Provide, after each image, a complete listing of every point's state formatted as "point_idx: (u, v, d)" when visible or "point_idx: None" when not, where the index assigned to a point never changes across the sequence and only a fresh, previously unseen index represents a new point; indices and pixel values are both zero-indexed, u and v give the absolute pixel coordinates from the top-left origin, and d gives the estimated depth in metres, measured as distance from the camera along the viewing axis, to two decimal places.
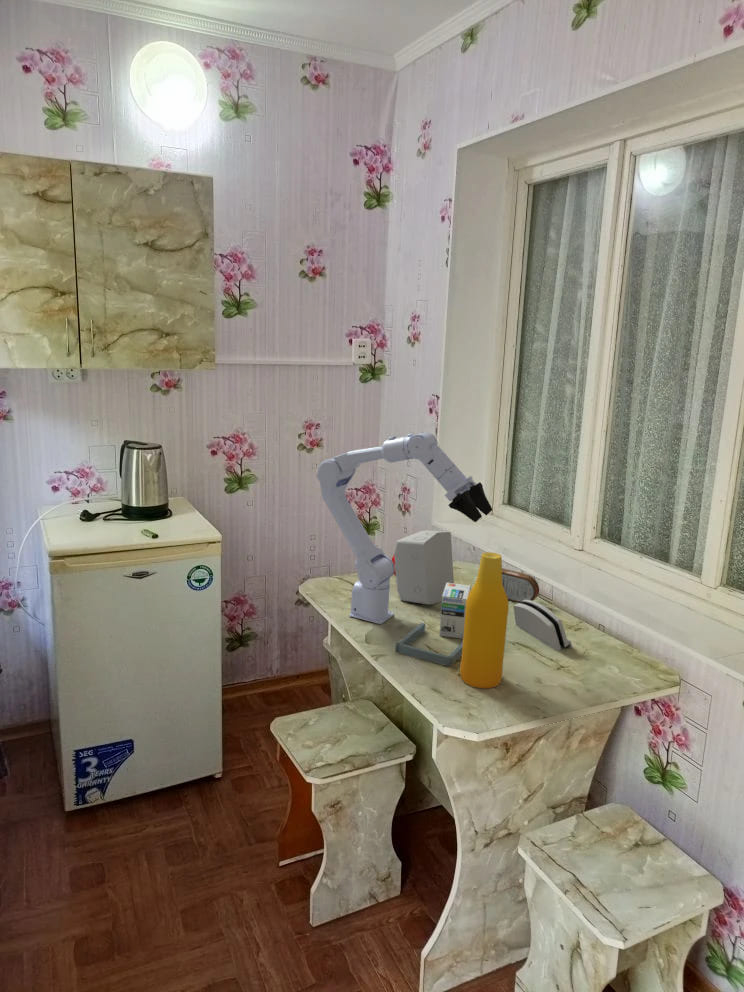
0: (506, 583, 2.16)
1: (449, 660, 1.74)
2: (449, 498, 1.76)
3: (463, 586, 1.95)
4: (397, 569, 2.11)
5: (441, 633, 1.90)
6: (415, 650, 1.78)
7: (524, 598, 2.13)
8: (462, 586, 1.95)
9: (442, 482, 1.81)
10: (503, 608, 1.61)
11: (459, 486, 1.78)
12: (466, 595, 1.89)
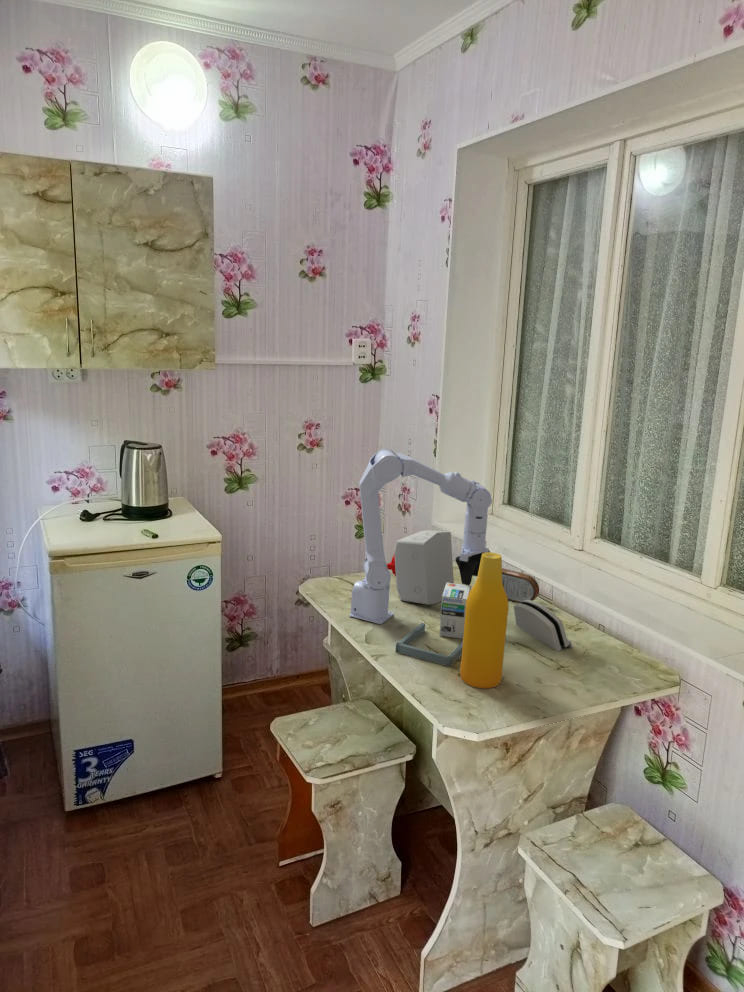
0: (506, 583, 2.16)
1: (449, 660, 1.74)
2: (461, 558, 1.93)
3: (463, 586, 1.95)
4: (397, 569, 2.11)
5: (441, 633, 1.90)
6: (415, 650, 1.78)
7: (524, 598, 2.13)
8: (462, 586, 1.95)
9: (466, 536, 1.96)
10: (503, 608, 1.61)
11: (475, 553, 1.94)
12: (466, 595, 1.89)
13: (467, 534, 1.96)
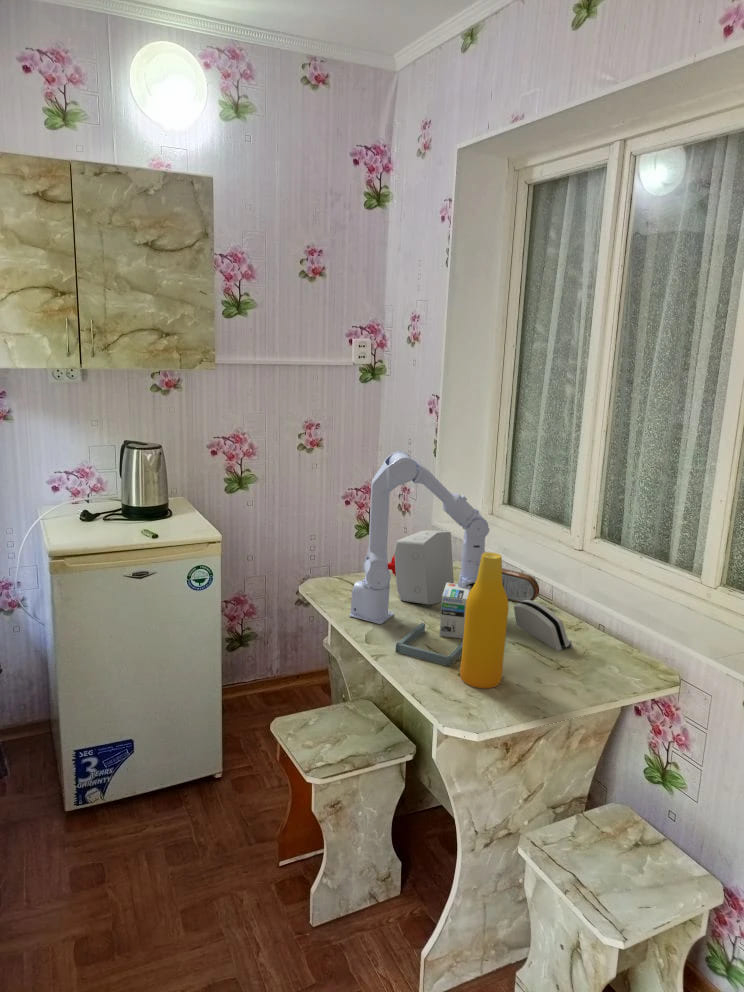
0: (506, 583, 2.16)
1: (449, 660, 1.74)
2: None
3: None
4: (397, 569, 2.11)
5: (441, 633, 1.90)
6: (415, 650, 1.78)
7: (524, 598, 2.13)
8: None
9: (464, 564, 1.98)
10: (503, 608, 1.61)
11: (472, 581, 1.96)
12: (466, 595, 1.89)
13: (465, 562, 1.98)
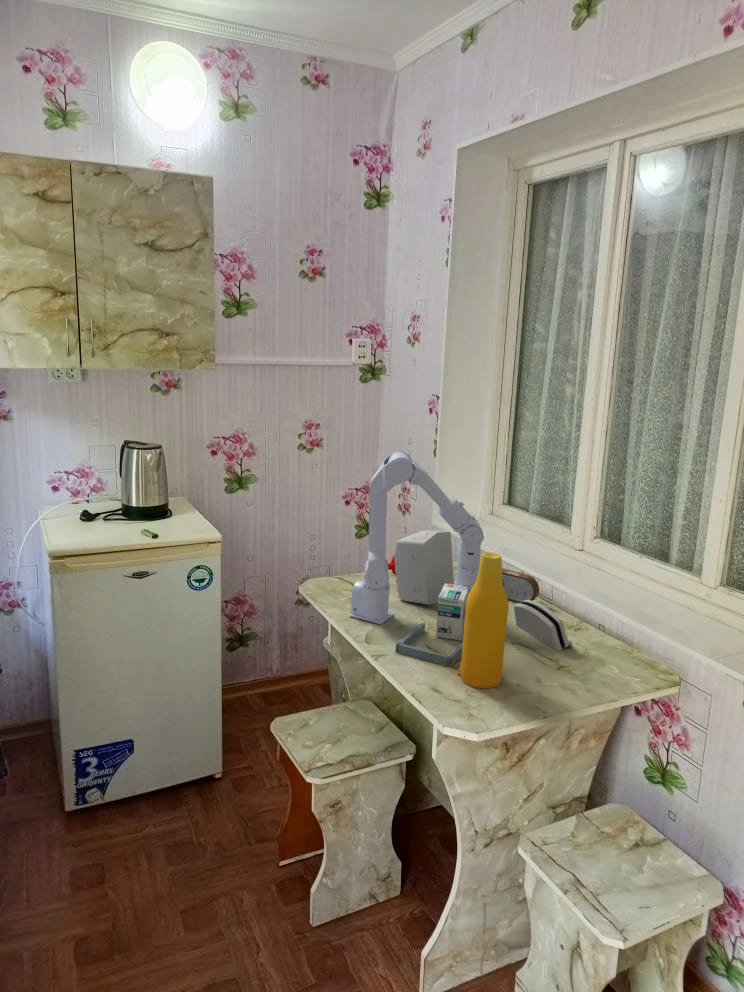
0: (506, 583, 2.16)
1: (449, 660, 1.74)
2: None
3: None
4: (397, 569, 2.11)
5: (437, 634, 1.89)
6: (415, 650, 1.78)
7: (524, 598, 2.13)
8: None
9: (459, 572, 1.95)
10: (503, 608, 1.61)
11: None
12: (463, 596, 1.88)
13: (460, 570, 1.95)
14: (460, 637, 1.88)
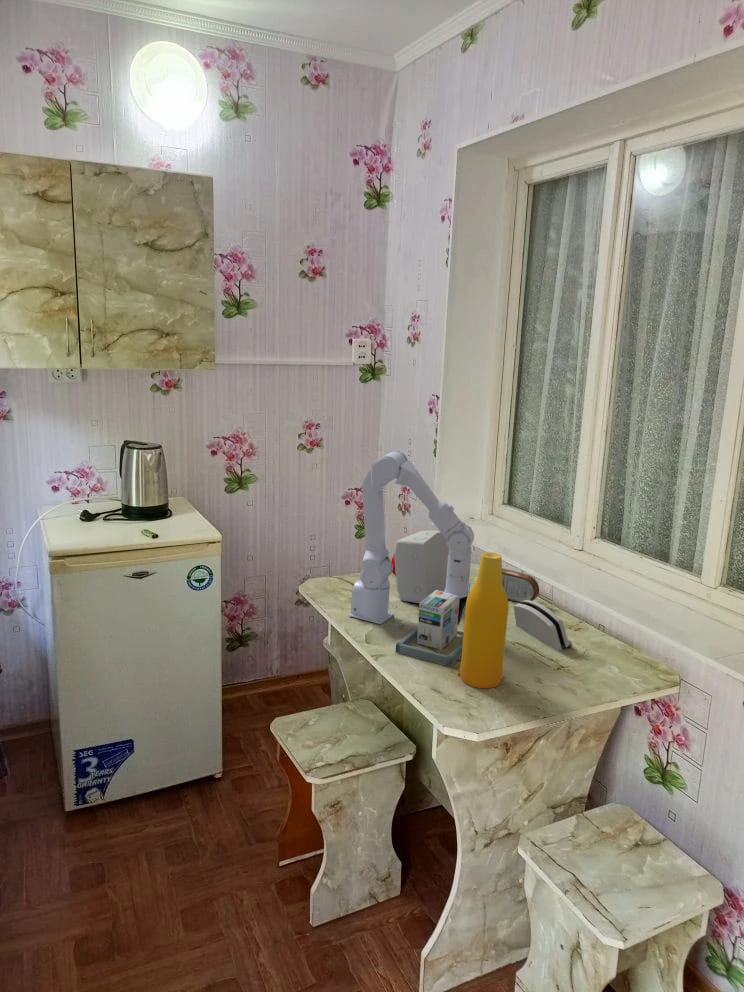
0: (506, 583, 2.15)
1: (449, 660, 1.74)
2: None
3: None
4: (397, 569, 2.11)
5: (418, 641, 1.85)
6: (415, 650, 1.78)
7: (524, 598, 2.13)
8: (449, 595, 1.88)
9: (449, 580, 1.89)
10: (503, 608, 1.61)
11: (458, 598, 1.88)
12: (445, 604, 1.82)
13: (450, 578, 1.89)
14: (440, 646, 1.82)
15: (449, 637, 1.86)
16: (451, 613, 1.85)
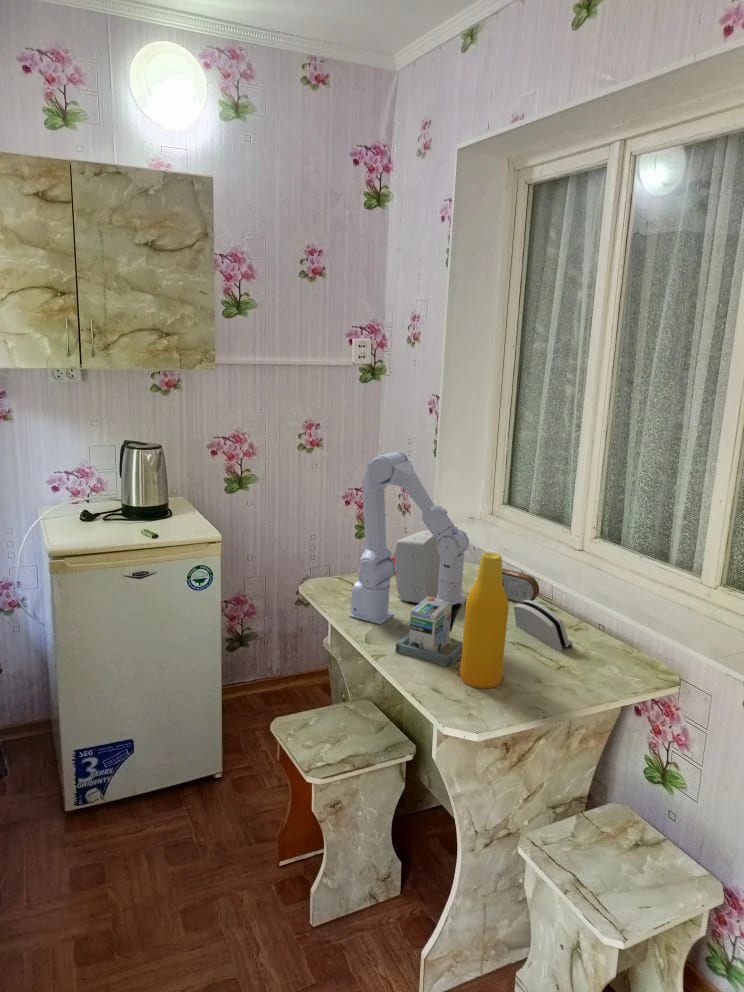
0: (506, 583, 2.16)
1: (449, 660, 1.74)
2: None
3: None
4: (397, 569, 2.11)
5: None
6: (415, 650, 1.78)
7: (524, 598, 2.13)
8: None
9: (441, 586, 1.85)
10: (503, 608, 1.61)
11: (450, 604, 1.83)
12: (437, 611, 1.78)
13: (442, 584, 1.84)
14: None
15: (441, 645, 1.81)
16: (443, 620, 1.80)
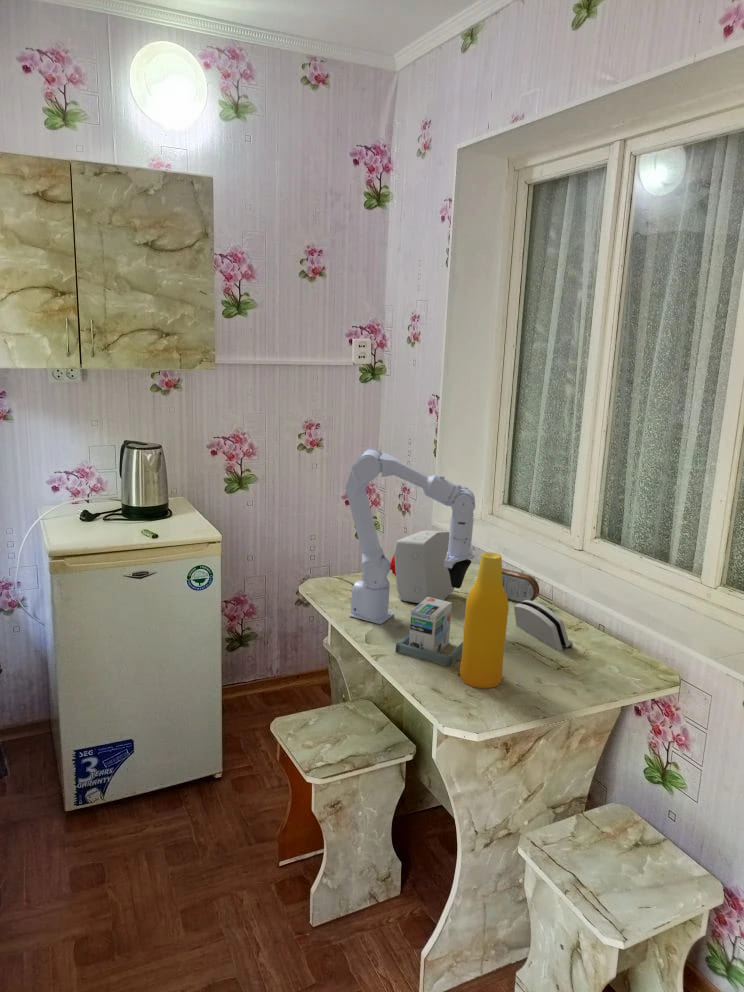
0: (506, 583, 2.16)
1: (449, 660, 1.74)
2: (445, 565, 1.87)
3: (442, 602, 1.84)
4: (397, 569, 2.11)
5: None
6: (415, 650, 1.78)
7: (524, 598, 2.13)
8: (441, 602, 1.84)
9: (451, 542, 1.91)
10: (503, 608, 1.61)
11: (460, 560, 1.89)
12: (437, 612, 1.78)
13: (452, 540, 1.90)
14: None
15: (441, 645, 1.81)
16: (443, 621, 1.80)
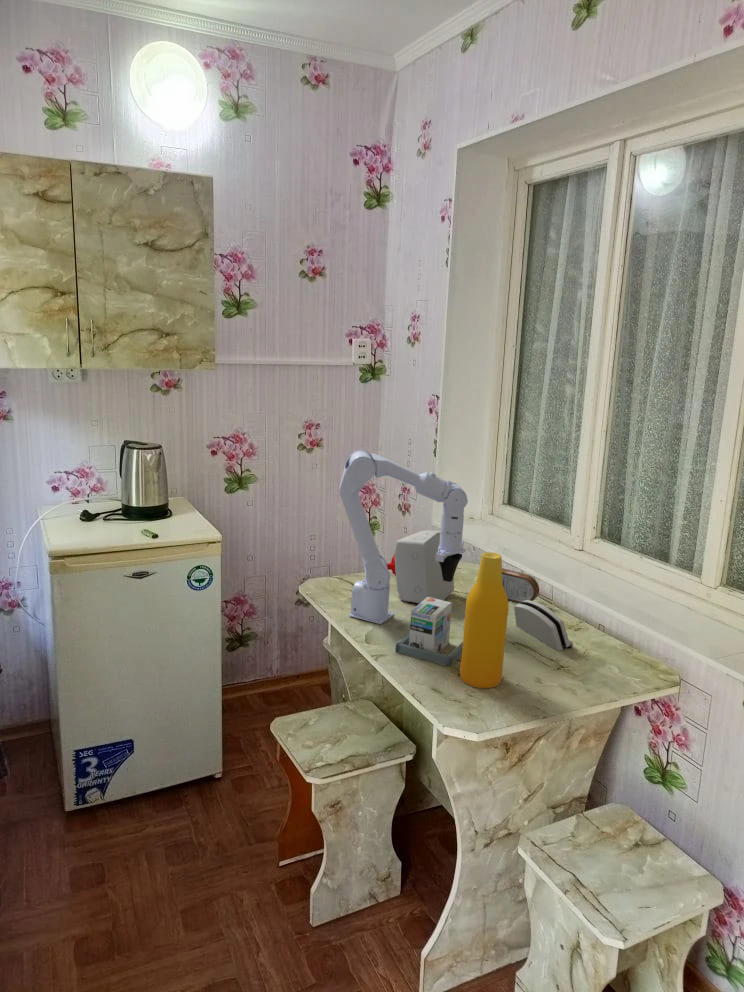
0: (506, 583, 2.16)
1: (449, 660, 1.74)
2: (437, 558, 1.91)
3: (442, 602, 1.84)
4: (397, 569, 2.11)
5: None
6: (415, 650, 1.78)
7: (524, 598, 2.13)
8: (441, 602, 1.84)
9: (442, 536, 1.95)
10: (503, 608, 1.61)
11: (451, 554, 1.93)
12: (437, 612, 1.78)
13: (443, 534, 1.94)
14: None
15: (441, 645, 1.81)
16: (443, 621, 1.80)
